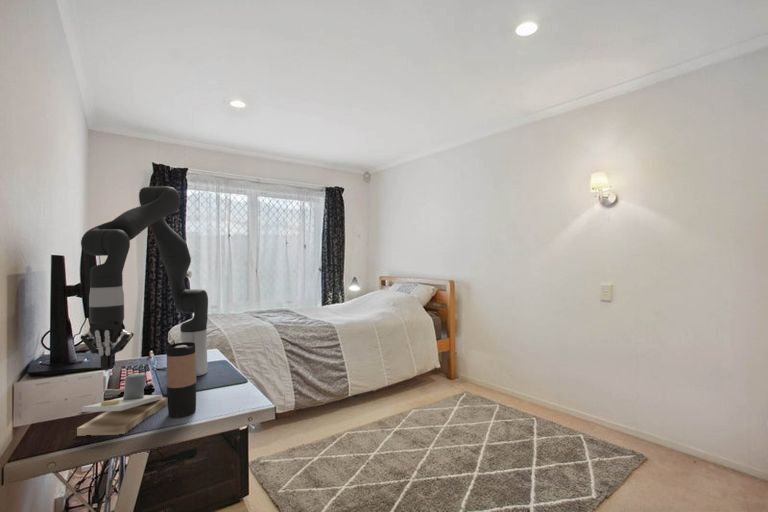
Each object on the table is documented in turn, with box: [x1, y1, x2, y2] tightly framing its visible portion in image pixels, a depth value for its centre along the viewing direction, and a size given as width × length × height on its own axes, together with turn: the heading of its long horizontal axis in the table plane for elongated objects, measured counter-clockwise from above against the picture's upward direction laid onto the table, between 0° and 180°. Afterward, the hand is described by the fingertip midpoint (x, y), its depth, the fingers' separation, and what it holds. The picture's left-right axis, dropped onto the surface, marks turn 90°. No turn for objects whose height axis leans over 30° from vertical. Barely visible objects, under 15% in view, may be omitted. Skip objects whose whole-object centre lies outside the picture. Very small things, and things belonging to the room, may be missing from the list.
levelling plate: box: [81, 373, 163, 413], centre depth 108 cm, size 19×10×8 cm, turn 1°
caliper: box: [104, 388, 124, 399], centre depth 125 cm, size 20×1×6 cm, turn 154°
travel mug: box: [166, 342, 197, 419], centre depth 111 cm, size 8×8×20 cm
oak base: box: [76, 397, 168, 437], centre depth 108 cm, size 20×12×2 cm, turn 1°
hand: (107, 368), depth 101 cm, fingers closed
